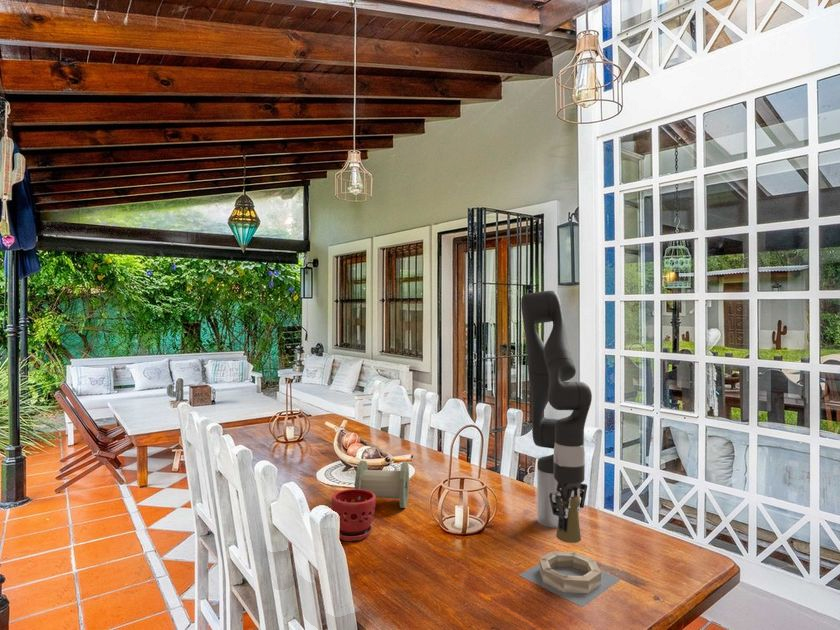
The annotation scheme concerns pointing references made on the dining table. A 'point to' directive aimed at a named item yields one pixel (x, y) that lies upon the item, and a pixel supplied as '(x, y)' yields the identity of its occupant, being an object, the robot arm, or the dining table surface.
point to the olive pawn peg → (571, 523)
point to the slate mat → (576, 598)
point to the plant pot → (354, 513)
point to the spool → (384, 482)
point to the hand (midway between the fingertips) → (568, 528)
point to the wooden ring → (570, 582)
